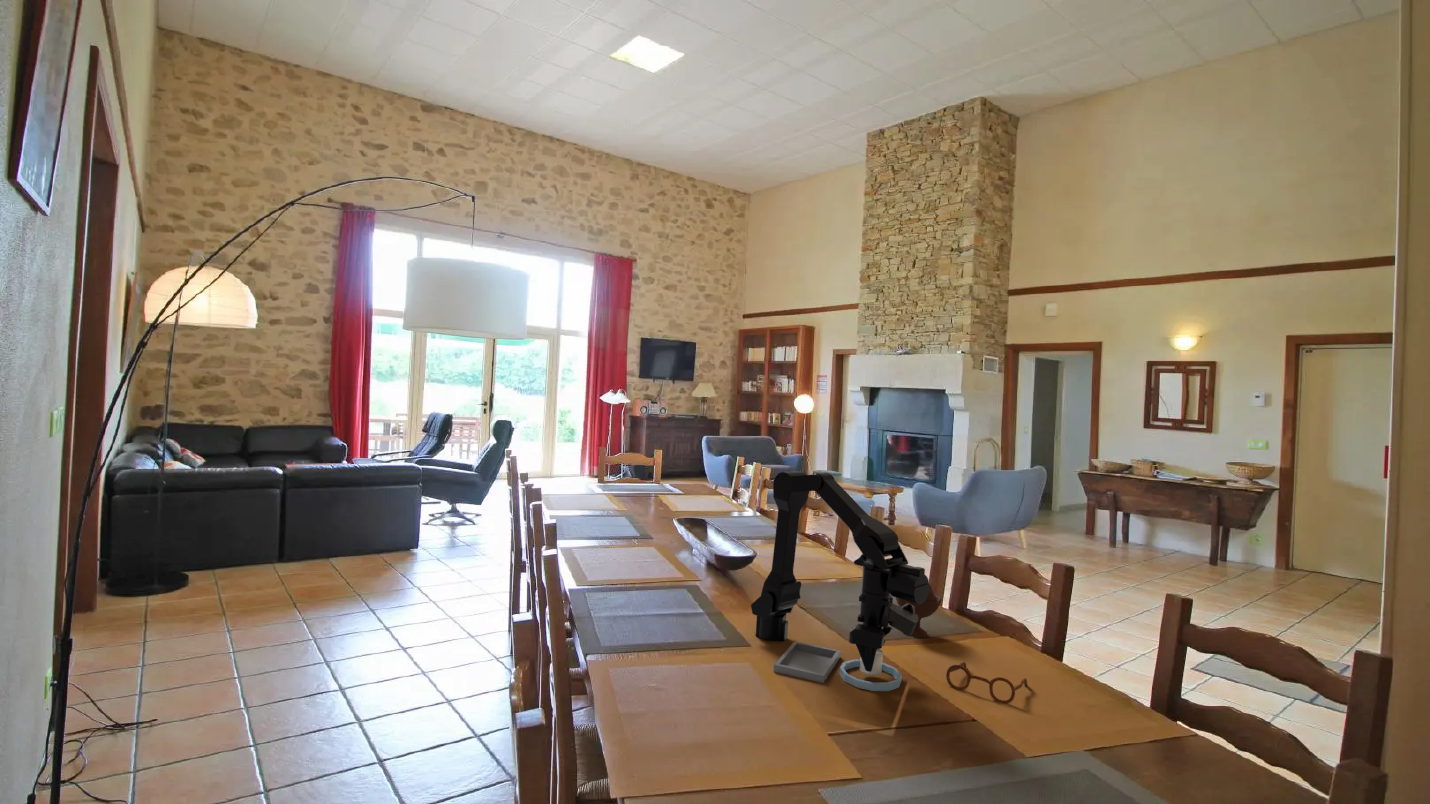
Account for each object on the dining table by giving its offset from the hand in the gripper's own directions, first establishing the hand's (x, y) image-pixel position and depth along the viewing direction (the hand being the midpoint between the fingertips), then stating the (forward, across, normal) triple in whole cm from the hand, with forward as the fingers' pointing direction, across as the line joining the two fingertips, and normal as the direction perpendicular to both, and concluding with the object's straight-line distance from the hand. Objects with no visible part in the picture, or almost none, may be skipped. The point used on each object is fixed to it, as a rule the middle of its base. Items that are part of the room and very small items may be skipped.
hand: (870, 666), depth 139 cm
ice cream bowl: (+3, +35, -5) cm, 36 cm away
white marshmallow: (+1, 0, 0) cm, 1 cm away
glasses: (+4, +11, -22) cm, 25 cm away
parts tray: (+3, 0, +13) cm, 13 cm away
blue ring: (+3, 0, 0) cm, 3 cm away
